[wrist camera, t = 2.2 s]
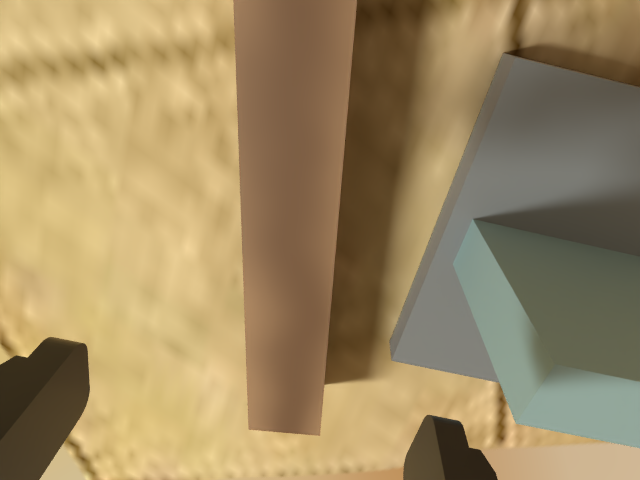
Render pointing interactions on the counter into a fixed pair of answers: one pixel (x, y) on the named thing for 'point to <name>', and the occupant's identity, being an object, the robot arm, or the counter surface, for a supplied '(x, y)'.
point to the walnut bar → (290, 196)
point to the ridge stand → (540, 255)
